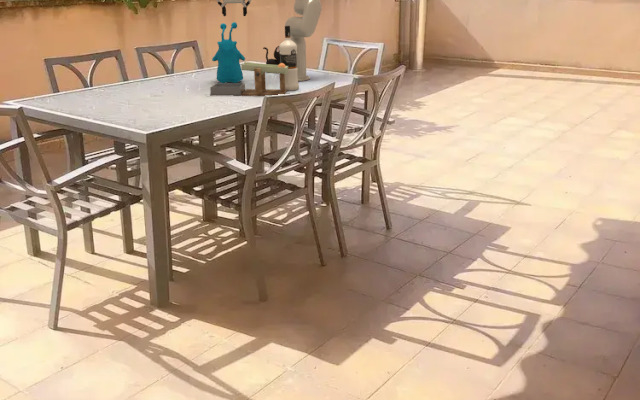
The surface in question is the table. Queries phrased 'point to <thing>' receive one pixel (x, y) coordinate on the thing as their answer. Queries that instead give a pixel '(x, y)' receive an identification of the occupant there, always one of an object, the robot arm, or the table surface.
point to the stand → (264, 86)
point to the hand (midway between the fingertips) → (234, 15)
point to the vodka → (289, 61)
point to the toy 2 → (276, 56)
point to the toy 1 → (228, 58)
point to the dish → (228, 89)
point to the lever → (264, 68)
